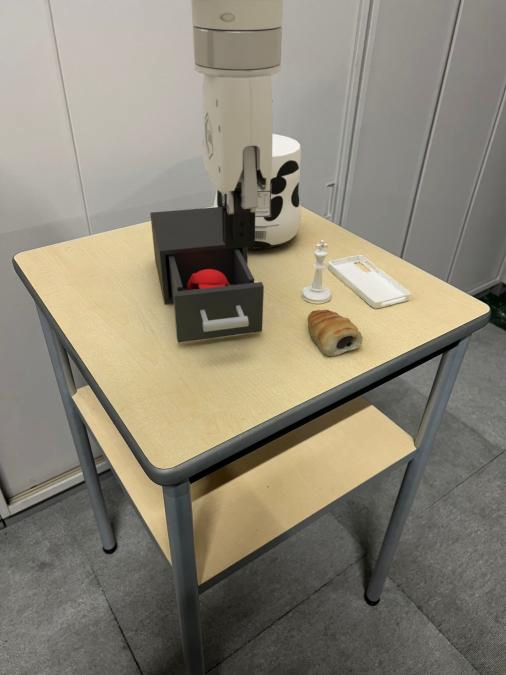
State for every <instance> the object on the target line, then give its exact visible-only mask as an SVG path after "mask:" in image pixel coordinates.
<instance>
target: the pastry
mask: <svg viewBox="0 0 506 675" xmlns="http://www.w3.org/2000/svg"><path fill="white" fill-rule="evenodd" d="M307 322H308V329H309V331H310V336H311V338H312V339H313V341H314V343H315V345H316V346H317V347H318V348H319V350H320V352H321V353H323V354H324V355H325V356H328V357H334V356H339V355H341V354H344V353H345V352H348V351H353V350H357V349H358V348H359V347H361V346H362V343H363V340H364V336H362V333H361V331H359V328H358V327H357V326H356V325H355V323H353V322H351V319H350V318H349V317H343V316H342V315H340V314H338V312H336V311H333V310H330V309H322V310H321V309H317V310H312V311H311V312H310V313H309V314H308V316H307Z"/></svg>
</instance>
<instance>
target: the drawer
mask: <svg viewBox="0 0 506 675" xmlns="http://www.w3.org/2000/svg"><path fill="white" fill-rule="evenodd" d="M168 265H169V276H170V288H171V294H172V299H173V303H174V304H173V308H174V319H175V320H174V321H175V330H176V331H175V333H176V340H177V344H179V343H188V342H195V341H202V340H209V339H217V338H223V337H232V336H239V335H240V336H241V335H247V334H254V333H261V332H263V319H264V318H263V317H264V316H263V314H264V294H265V293H264V291H265V285H264V283H263V282H262V281H258V282H255V277H254V275H253V274H252V272H251V270H250V268H249V266H248V263H247V264H246V262H245V260H244V258H243V256H242V254H241V252H240V250H239V248H232V249H221V250H211V251H201V252H191V253H180V254H170V255H168ZM205 269H213V270H217V271H219V272H221V273H223V274H224V275H225V277H226V278H227V281H228V283H229V284H230V286H221V287H212V288H204V289H195V290H188V289H187V284H188V281H189V279H190V278H191V276H192V274H193V273H197V272H199V271H201V270H205Z"/></svg>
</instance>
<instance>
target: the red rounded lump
mask: <svg viewBox="0 0 506 675" xmlns="http://www.w3.org/2000/svg"><path fill="white" fill-rule="evenodd" d="M221 286H230V284H229V283H228V281H227V278H226V277H225V275H224V274H223V273H221V272H219V271H217V270H213V269H205V270H201V271H199V272H197V273H193V274H192V276H191V278H190V279H189V281H188V284H187V289H188V290H195V289H204V288H212V287H221Z"/></svg>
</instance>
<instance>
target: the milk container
mask: <svg viewBox="0 0 506 675" xmlns="http://www.w3.org/2000/svg"><path fill="white" fill-rule="evenodd" d="M301 160H302V147H301V144H300V143H299V141H298V140H297V139H294V138H292V137H289V136H287V135H286V136H285V135H282V134H277V133H272V170H271V181H270V185H269V187H268V188H267V189H266V190H264V191H263V190H261V189H260V187H259V186H258V185H257V196H258V207H257V208H256V210H255V244H254V245H253V246H248V249H269V248H276V247H279V246H281V245H283V244H287V243H289V242H290V241H291V240H293V239H294V238H295V236H297V233H298V232H299V229H300V226H301V222H302V221H301V220H302V206H301V201H300V192H299V191H300V190H299V186H300V178H301V177H300V176H301V162H302V161H301ZM214 207H226V206H223V203H222V193H221V192H220V191H218V189H217V188H216V192H215V196H214V201H213V205H212V208H214Z"/></svg>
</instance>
